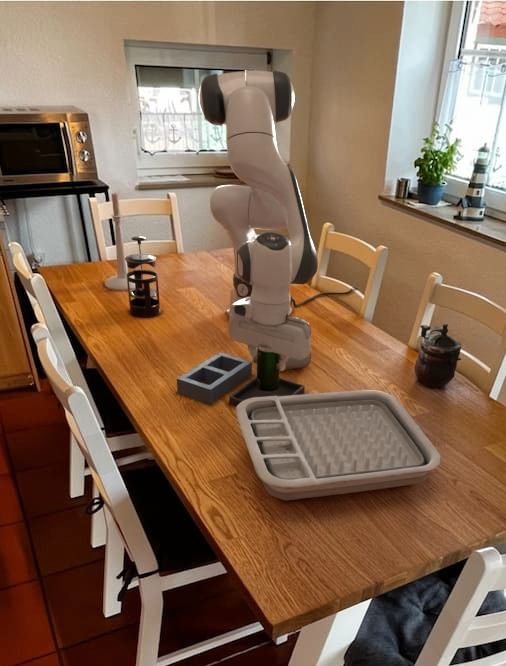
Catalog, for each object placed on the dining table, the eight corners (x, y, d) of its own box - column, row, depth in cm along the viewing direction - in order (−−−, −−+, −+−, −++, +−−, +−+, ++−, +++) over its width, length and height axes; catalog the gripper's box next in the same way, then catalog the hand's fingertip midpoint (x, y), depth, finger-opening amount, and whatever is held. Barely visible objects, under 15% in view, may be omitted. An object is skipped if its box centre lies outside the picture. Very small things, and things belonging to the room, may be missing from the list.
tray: (262, 379, 151) (262, 372, 150) (304, 393, 147) (304, 385, 146) (229, 404, 139) (229, 396, 138) (273, 419, 135) (273, 411, 134)
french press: (165, 316, 181) (160, 241, 169) (134, 320, 177) (127, 243, 164) (154, 303, 189) (148, 230, 177) (124, 306, 185) (117, 232, 173)
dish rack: (445, 497, 115) (453, 464, 111) (261, 523, 105) (262, 488, 101) (383, 414, 140) (388, 385, 136) (231, 429, 130) (230, 398, 126)
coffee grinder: (395, 385, 154) (406, 320, 144) (422, 367, 164) (433, 305, 154) (439, 402, 147) (453, 336, 138) (463, 382, 158) (478, 319, 148)
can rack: (220, 365, 156) (220, 351, 154) (251, 375, 153) (252, 361, 150) (177, 393, 142) (176, 378, 140) (210, 404, 139) (210, 389, 137)
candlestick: (96, 283, 201) (84, 191, 185) (126, 275, 210) (117, 186, 194) (121, 293, 195) (111, 198, 179) (151, 284, 204) (144, 193, 188)
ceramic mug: (312, 371, 157) (314, 344, 153) (283, 375, 154) (284, 348, 150) (296, 354, 165) (297, 329, 161) (269, 358, 162) (270, 332, 158)
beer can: (263, 396, 138) (264, 349, 132) (252, 386, 142) (253, 340, 136) (282, 391, 141) (285, 345, 134) (271, 381, 145) (273, 336, 138)
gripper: (318, 316, 130) (313, 372, 137) (240, 296, 137) (239, 350, 144) (304, 325, 125) (300, 383, 132) (224, 304, 132) (225, 359, 139)
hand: (268, 365), depth 138 cm, fingers closed on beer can, 5 cm apart
